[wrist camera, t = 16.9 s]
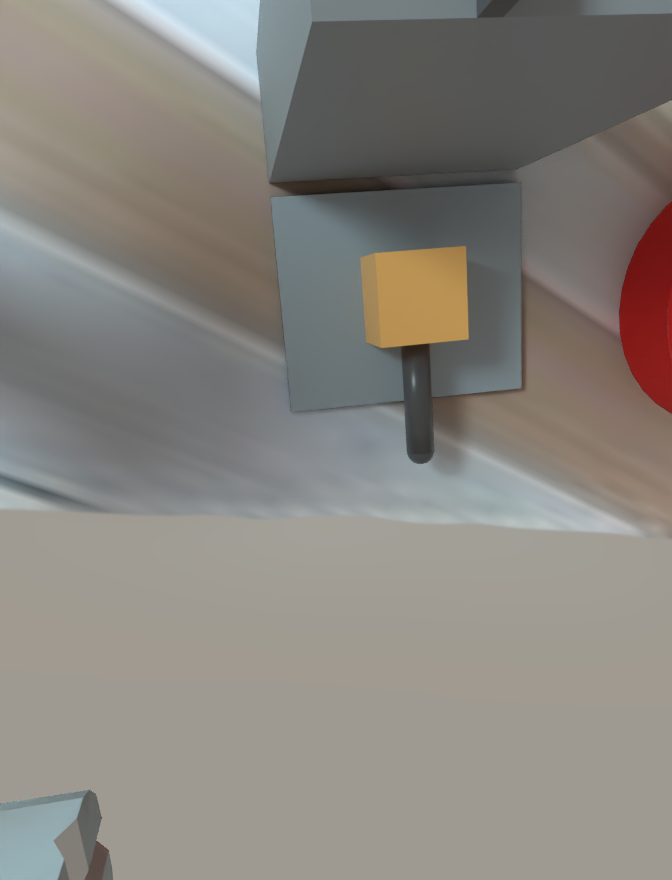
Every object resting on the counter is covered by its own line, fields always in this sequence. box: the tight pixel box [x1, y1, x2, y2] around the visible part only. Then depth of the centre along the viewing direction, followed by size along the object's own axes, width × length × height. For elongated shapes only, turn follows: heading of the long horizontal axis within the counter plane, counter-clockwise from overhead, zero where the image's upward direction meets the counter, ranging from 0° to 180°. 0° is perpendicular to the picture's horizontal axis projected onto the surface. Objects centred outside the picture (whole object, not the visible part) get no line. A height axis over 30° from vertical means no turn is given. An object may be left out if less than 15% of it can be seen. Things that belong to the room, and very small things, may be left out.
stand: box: [256, 0, 672, 183], centre depth 29 cm, size 18×8×28 cm, turn 95°
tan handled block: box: [360, 246, 469, 464], centre depth 43 cm, size 6×15×5 cm, turn 5°
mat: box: [271, 182, 521, 412], centre depth 45 cm, size 18×15×1 cm
